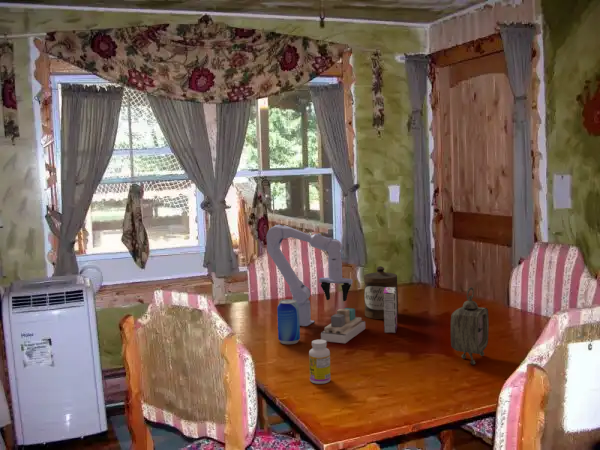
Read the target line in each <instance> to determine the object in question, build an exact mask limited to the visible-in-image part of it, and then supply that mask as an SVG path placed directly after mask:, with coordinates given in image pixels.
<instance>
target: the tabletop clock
mask: <svg viewBox="0 0 600 450" xmlns="http://www.w3.org/2000/svg"><path fill="white" fill-rule="evenodd" d="M470 291H472V295H469V293H470ZM474 295H475V291H474V287H469V288H468V289H467V291H466V300H465V301H464V302H463V304H462V306H461V307H458V308H457V309H455V310H454V311H453V312H452V313H451V316H450V345H451V346H450V347H451V348H452V349H453V350H455V351H456V352H463V354H461V358H462V359H466V358H467V355H466V353H467V354H468V355H469V356H470V364H471V365H472V366H473V365H476V360H475V359H474V358H473V357H474V356H473V354H475V355H476V354H477V355H480V356H481V357H484V355H485V349H487V347H488V345H489V344H488V343H489V328H490V327H489V326H490V325H489V309H488V308H487V307H479V306H478V303H477V302H476V301H474V300H473V298H474Z"/></svg>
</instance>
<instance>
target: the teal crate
mask: <svg viewBox="0 0 600 450" xmlns="http://www.w3.org/2000/svg"><path fill="white" fill-rule="evenodd" d="M344 309H349V316H350V321H352V320H353V319H355V317H356V308H354V307H353V308H352V307H345V308H344Z"/></svg>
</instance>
